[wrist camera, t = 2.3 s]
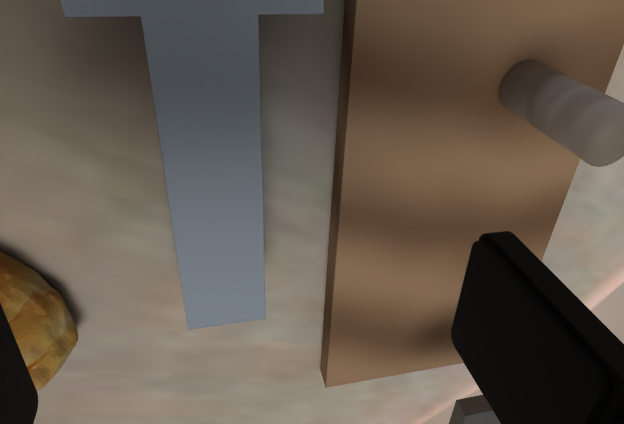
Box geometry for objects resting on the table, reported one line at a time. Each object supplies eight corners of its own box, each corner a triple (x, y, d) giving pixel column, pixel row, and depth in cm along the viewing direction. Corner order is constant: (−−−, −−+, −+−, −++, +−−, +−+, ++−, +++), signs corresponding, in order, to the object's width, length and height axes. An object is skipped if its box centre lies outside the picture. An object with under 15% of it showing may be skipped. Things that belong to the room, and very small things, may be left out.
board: (349, -53, 16) (426, -24, 11) (631, -48, 18) (797, -23, 13) (320, 369, 27) (351, 473, 23) (494, 339, 30) (557, 428, 25)
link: (21, -319, 11) (-30, -388, 8) (301, -286, 13) (338, -335, 10) (143, 276, 21) (138, 336, 18) (292, 258, 23) (310, 312, 20)
